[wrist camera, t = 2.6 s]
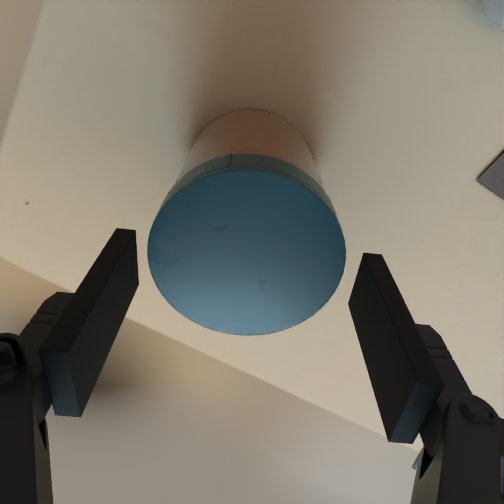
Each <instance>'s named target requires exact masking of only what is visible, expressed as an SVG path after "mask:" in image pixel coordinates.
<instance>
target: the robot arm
mask: <svg viewBox="0 0 504 504" xmlns="http://www.w3.org/2000/svg"><path fill="white" fill-rule="evenodd" d="M138 285H139V278H138V262H137V245H136V230H130V229H120V228H116V230H115V231H114V233H113V234H112V236H111V238H110V239H109V241H108V242H107V244H106V245H105V247H104V248H103V250H102V251H101V253H100V255H99V256H98V258H97V259H96V261H95V262H94V264H93V265H92V267H91V269H90V270H89V272H88V273H87V275H86V276H85V278H84V279H83V281H82V282H81V284H80V286H79V287H78V289H77V290H76V292H75V293H66V292H56V293H55V294H54V295H52V296H51V297H49V298H48V299H46V300H45V301H44V302H43V303H42V305H41V306H40V308H39V309H38V310H37V312H36V314H34V316H33V317H32V319H31V320H30V323H28V324H27V325H26V327H25V328H24V329H23V331H22V332H21V334H20V335H19V336H18V335H16V334H12V333H0V504H53V495H52V481H51V469H50V455H49V443H48V430H47V423H46V419H45V416H46V414H47V412H48V410H49V408H50V406H51V404H52V405H53V409H54V413H55V415H60V416H72V417H81V416H82V414H83V411H84V409H85V407H86V404H87V402H88V400H89V398H90V395H91V393H92V391H93V388H94V386H95V384H96V381H97V379H98V377H99V374H100V372H101V370H102V368H103V365H104V363H105V361H106V359H107V356H108V354H109V352H110V349H111V347H112V345H113V342H114V340H115V338H116V336H117V333H118V331H119V329H120V326H121V324H122V322H123V320H124V317H125V315H126V313H127V310H128V308H129V306H130V304H131V301H132V299H133V297H134V294H135V292H136V290H137V287H138ZM348 305H349V309H350V312H351V316H352V319H353V322H354V326H355V329H356V333H357V336H358V340H359V343H360V346H361V350H362V353H363V357H364V360H365V363H366V367H367V370H368V374H369V377H370V381H371V384H372V387H373V391H374V394H375V398H376V401H377V404H378V408H379V411H380V415H381V418H382V422H383V425H384V428H385V432H386V435H387V439H388V442H396V443H408V444H413V442H414V441H415V439H416V437H417V435H418V433H420V436H421V439H422V441H423V444H424V446H423V448H422V450H421V451H420V453H419V455H418V457H417V458H416V460H415V462H414V464H413V466H412V468H413V469H416V467H417V471H416V476H415V481H414V487H413V492H412V498H411V503H410V504H504V419H502V418H500V417H499V416H498V415H497V413H496V412H495V410H494V409H493V408H492V407H491V406H490V405H489V404H488V403H487V402H486V401H484V400H483V399H481V398H479V397H477V396H476V395H473V394H472V393H471V391H470V389H469V387H468V385H467V383H466V382H465V380H464V378H463V376H462V374H461V372H460V371H459V369H458V367H457V365H456V363H455V361H454V360H452V356H451V354H450V352H449V350H447V347H446V345H445V343H444V341H443V339H442V337H441V336H440V335H439V334H438V333H437V332H436V331H435V330H434V329H433V328H432V327H431V326H430V325H422V324H415V322H414V320H413V318H412V316H411V314H410V312H409V310H408V308H407V306H406V304H405V302H404V299H403V297H402V295H401V293H400V291H399V289H398V287H397V285H396V283H395V281H394V279H393V277H392V275H391V273H390V271H389V269H388V266H387V264H386V262H385V260H384V258H383V256H382V255H381V254H371V253H363V256H362V260H361V263H360V266H359V270H358V273H357V276H356V280H355V283H354V286H353V289H352V293H351V296H350V299H349V303H348Z"/></svg>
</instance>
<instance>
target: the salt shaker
mask: <svg viewBox="0 0 504 504" xmlns="http://www.w3.org/2000/svg"><path fill="white" fill-rule="evenodd" d="M482 4H483V8H484V12H485V16H486V17H488V18H489V19H490V20H491V21H492V22H493V23H494V24H495V25H496V26H497V27H498V28H500V29H501V30H502V31H503V32H504V0H482Z"/></svg>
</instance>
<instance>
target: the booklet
mask: <svg viewBox="0 0 504 504" xmlns="http://www.w3.org/2000/svg"><path fill="white" fill-rule="evenodd" d="M477 182H478V183H480V184H481V185H483V186H484V187H486V188H487V189H488V190H490V191H491V192H493V193H494V194H496V195H497V196H499V197H500V198H501V199H503V200H504V153H503V154H502V155H501V156H500V157H499V158H498V159H497V160H496V161H495V162H494V163H493V164H492V165H491V166H490V167H489V168H488V169H487V170H486V172H485V173H484V174H483V175H482V176H481V177H480V178H479V179H478V180H477Z"/></svg>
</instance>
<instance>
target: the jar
mask: <svg viewBox="0 0 504 504" xmlns="http://www.w3.org/2000/svg"><path fill="white" fill-rule="evenodd" d="M229 153H232V154H243V153H247V154H261V155H266V156H272V157H275V158H278V159H281V160H284V161H286V162H288V163H291V164H293V165H295V166H297V167H298V168H300V169H301V170H303V171H305V172H306V173H307V174H308V175H310V176H311V177H312V178H313V179H314V180H315V181H316V182H317V183H318V184H319V185H320V186H321V187H322V188H323V185H322V182H321V179H320V176H319V173H318V170H317V167H316V164H315V161H314V158H313V156H312V153H311V150H310V148H309V145H308V143H307V141H306V140H305V138H304V137H303V135H302V134H301V133H300V132H299V131H298V129H297V128H296V127H294V126H293V125H292V124H291V123H290V122H288V121H287V120H285V119H284V118H282V117H280V116H278V115H276V114H273V113H270V112H266V111H261V110H239V111H235V112H231V113H228V114H226V115H223V116H221V117H219V118H217V119H216V120H214V121H213V122H212V123H210V124H209V125H208V126H207V127H206V128H205V129H204V130H203V131H202V132H201V133H200V134H199V136H198V137H197V139H196V140H195V142H194V144H193V146H192V148H191V150H190V153H189V155H188V157H187V159H186V161H185V163H184V166H183V168H182V170H181V172H180V174H179V176H178V179H177V181H178V180H179V179H180V178H181V177H182V176H183V175H185V174H186V173H187V172H189V171H190V170H192V169H193V168H194V167H196V166H198V165H200V164H202V163H204V162H206V161H209V160H212V159H215V158H217V157H222V156H226V155H229ZM177 181H176V182H177ZM323 190H324V188H323Z"/></svg>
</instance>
